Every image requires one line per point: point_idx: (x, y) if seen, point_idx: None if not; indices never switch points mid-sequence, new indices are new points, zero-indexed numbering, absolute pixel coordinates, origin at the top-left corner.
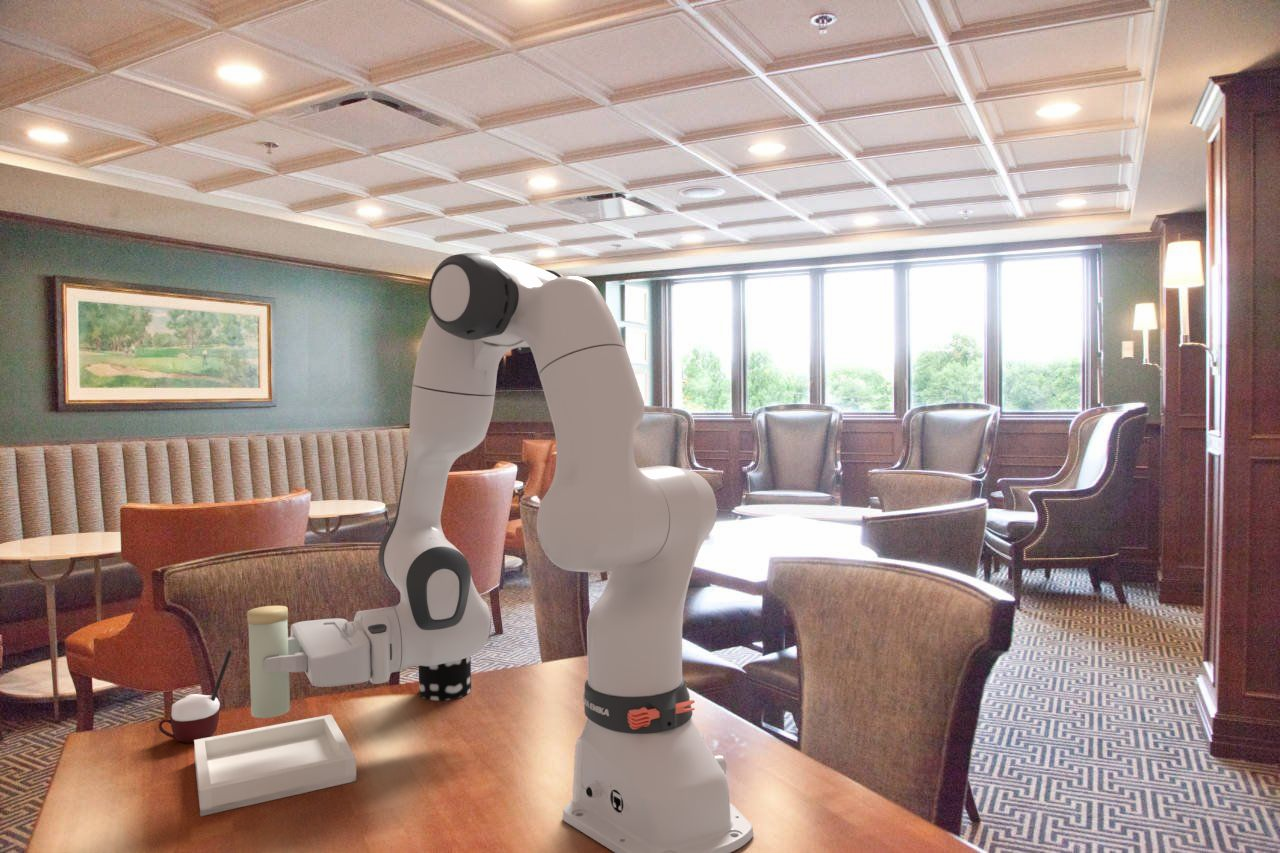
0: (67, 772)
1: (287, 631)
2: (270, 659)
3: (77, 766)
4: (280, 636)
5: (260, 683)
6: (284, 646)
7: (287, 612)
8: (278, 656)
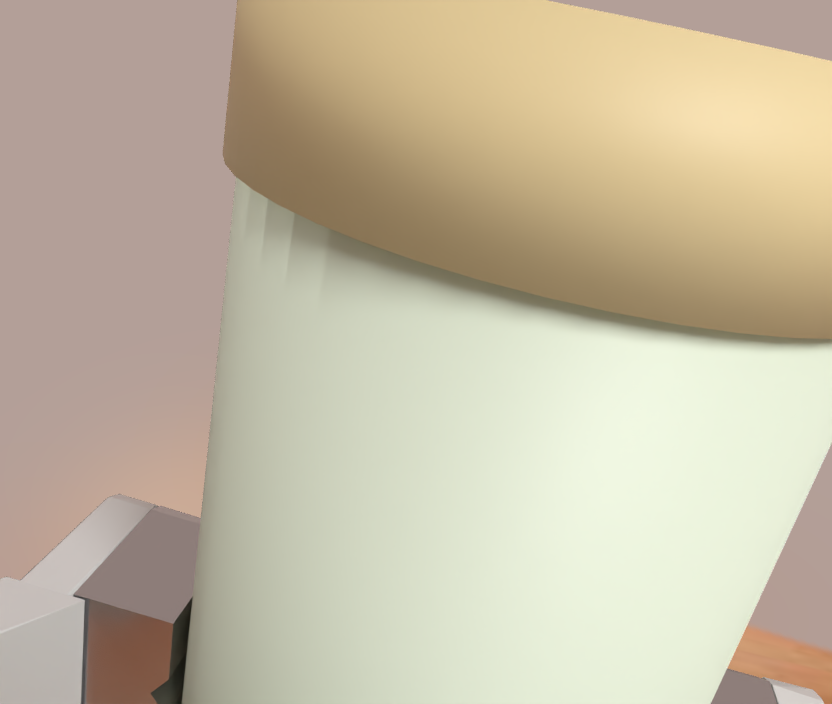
0: (756, 632)
1: (371, 553)
2: (94, 522)
3: (798, 659)
4: (213, 436)
5: None
6: (227, 658)
7: (431, 96)
8: (73, 583)
